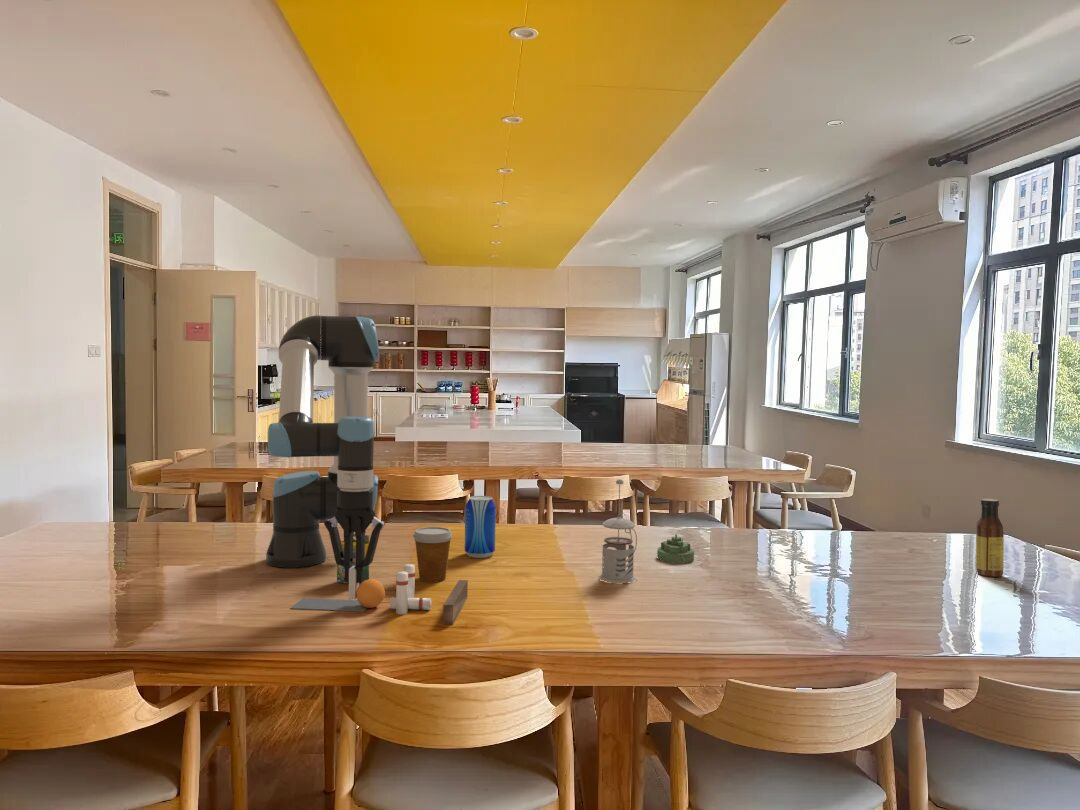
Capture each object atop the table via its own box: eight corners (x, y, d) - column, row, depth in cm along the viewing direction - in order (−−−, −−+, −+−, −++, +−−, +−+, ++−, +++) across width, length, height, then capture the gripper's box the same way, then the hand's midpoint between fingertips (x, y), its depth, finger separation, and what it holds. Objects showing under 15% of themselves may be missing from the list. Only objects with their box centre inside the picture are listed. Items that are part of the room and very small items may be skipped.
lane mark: (290, 608, 162) (290, 607, 162) (302, 598, 169) (302, 598, 169) (364, 611, 161) (364, 610, 161) (373, 601, 168) (373, 600, 168)
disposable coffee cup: (459, 576, 190) (459, 528, 189) (438, 586, 181) (438, 536, 180) (426, 571, 194) (427, 524, 193) (404, 581, 185) (405, 532, 184)
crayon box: (336, 583, 182) (336, 534, 182) (343, 579, 185) (343, 532, 184) (362, 586, 180) (362, 537, 179) (369, 583, 183) (369, 535, 182)
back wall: (443, 624, 155) (443, 604, 154) (458, 597, 173) (458, 579, 172) (452, 624, 155) (453, 605, 154) (467, 597, 172) (467, 580, 172)
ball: (360, 577, 162) (380, 596, 160) (375, 570, 167) (394, 588, 166) (346, 598, 163) (365, 617, 162) (361, 590, 169) (380, 608, 167)
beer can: (493, 559, 207) (494, 500, 206) (462, 558, 207) (463, 500, 207) (496, 551, 216) (496, 495, 215) (466, 550, 216) (467, 494, 215)
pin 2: (401, 605, 166) (402, 566, 166) (404, 601, 169) (404, 563, 168) (413, 605, 166) (413, 567, 166) (415, 602, 168) (416, 564, 168)
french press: (589, 578, 190) (591, 478, 189) (617, 569, 199) (620, 474, 197) (621, 586, 183) (623, 483, 182) (649, 577, 192) (651, 478, 191)
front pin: (389, 604, 162) (429, 605, 162) (391, 594, 164) (430, 595, 164) (390, 611, 164) (430, 612, 163) (392, 601, 166) (431, 602, 165)
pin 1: (394, 614, 160) (394, 574, 160) (397, 610, 163) (397, 571, 162) (406, 614, 160) (406, 574, 160) (409, 611, 162) (409, 571, 162)
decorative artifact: (654, 561, 208) (691, 565, 205) (654, 536, 208) (692, 539, 205) (660, 553, 218) (696, 556, 215) (661, 529, 218) (696, 532, 214)
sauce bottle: (1005, 574, 200) (1009, 499, 199) (999, 579, 196) (1003, 502, 195) (977, 570, 205) (981, 496, 204) (971, 574, 200) (975, 499, 199)
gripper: (319, 490, 160) (318, 601, 162) (380, 492, 160) (378, 603, 161) (331, 485, 168) (330, 590, 169) (389, 487, 167) (388, 593, 168)
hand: (353, 597), depth 165 cm, fingers closed
